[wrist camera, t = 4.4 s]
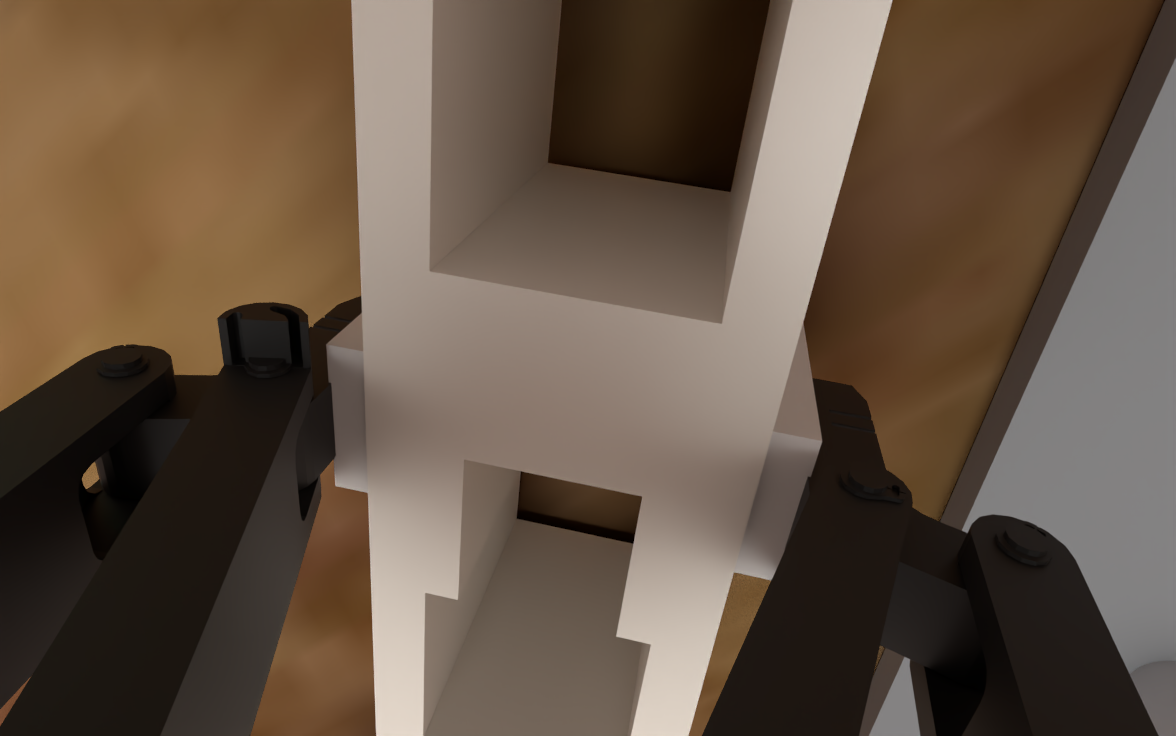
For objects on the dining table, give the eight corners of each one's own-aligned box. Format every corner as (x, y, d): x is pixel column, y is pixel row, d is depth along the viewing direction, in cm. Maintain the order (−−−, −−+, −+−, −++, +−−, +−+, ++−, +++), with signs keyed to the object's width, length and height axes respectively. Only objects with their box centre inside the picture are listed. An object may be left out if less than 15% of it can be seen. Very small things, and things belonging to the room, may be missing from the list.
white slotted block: (531, -323, 13) (307, -645, 6) (894, -290, 12) (1072, -612, 5) (476, 612, 23) (372, 858, 17) (668, 657, 22) (637, 930, 16)
